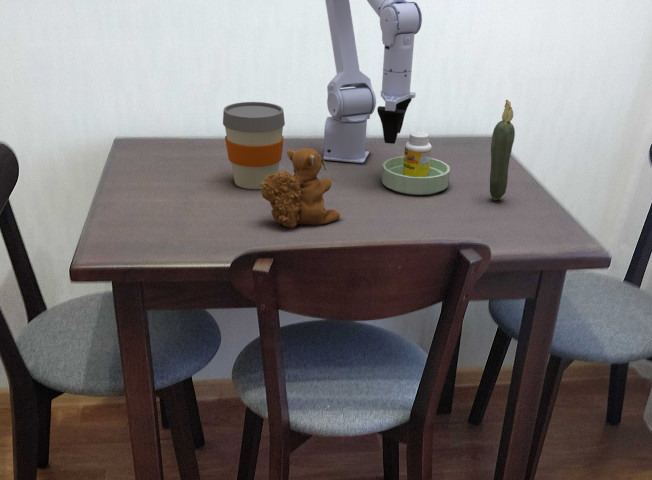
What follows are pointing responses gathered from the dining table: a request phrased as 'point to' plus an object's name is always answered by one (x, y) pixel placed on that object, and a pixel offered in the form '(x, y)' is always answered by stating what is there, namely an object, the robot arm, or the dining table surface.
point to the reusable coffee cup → (253, 141)
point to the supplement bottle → (417, 155)
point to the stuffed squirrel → (299, 191)
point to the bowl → (415, 185)
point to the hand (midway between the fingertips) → (392, 137)
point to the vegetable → (501, 153)
